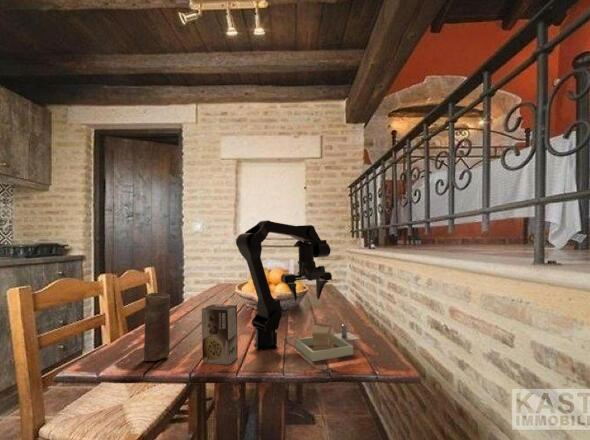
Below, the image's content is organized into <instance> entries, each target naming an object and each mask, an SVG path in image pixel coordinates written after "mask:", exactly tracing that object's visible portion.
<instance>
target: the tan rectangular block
mask: <svg viewBox="0 0 590 440" xmlns="http://www.w3.org/2000/svg"><path fill="white" fill-rule="evenodd" d="M311 330H312V337H313V345H312V350H313V351H318V350H325V349H331V348H335V344H334V334H335V333H334V331H335V330H334V324H333V323H323V322H318V323H316V324H315V325H312V328H311Z"/></svg>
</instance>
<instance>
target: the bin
mask: <svg viewBox="0 0 590 440" xmlns="http://www.w3.org/2000/svg"><path fill="white" fill-rule="evenodd" d="M310 346H312V347H313V336H309V337H301V338H295V351H296V352H297V353H298V354H300V355H301V356H302V357H303V358H304V359H305V360H307V361H308V362H309V364H311V365H312V366H314V365H315V362H317V361H318V362H319V361H322V360H323V361H324V360H330V359H335V358H336V359H337V358H342V357H347V356H353V355H354V345H352V344H351V343H349V342H347V341H344V340H342V339H340V338H338V337H337V336H335V335H334V346H336V347H334V348H331V349H325V350H318V351H313V348H310Z"/></svg>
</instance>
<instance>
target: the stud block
mask: <svg viewBox="0 0 590 440" xmlns="http://www.w3.org/2000/svg"><path fill="white" fill-rule="evenodd" d="M339 328H340V332H339V333H334V335H335V336H337V337H338V338H340V339H342V340H344V341H345V342H347V341H351V340H357V339H358V340H359V339H360V337H358V336H356V335H354V334H352V333H350V332H349V331H348V330H349V329H348V325H347V324H343V323H342V324H341V325H340V327H339ZM347 331H348V332H347Z"/></svg>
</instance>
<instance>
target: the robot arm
mask: <svg viewBox="0 0 590 440" xmlns="http://www.w3.org/2000/svg"><path fill="white" fill-rule="evenodd" d="M269 234H278V235H284V236H289V237H291V238H293V239H295V240H297V241H296V242H295V243H294V244H293V247H295V248H296V247H297V249H298V260H297V264H298V272H297V274H294V273H282V274H281V277H280V282H281V283H283V284H284V285H287V287H288V289H289V291H290V293H291V295H292V298H293V300H294V302H298V300H297V299H298V297H297V284H298V283H297V282H296V281H304V280H307V281H315V289H316V298H317V300H320V298H321V296H322V295H321V294H322V292H323V290H324V287H325V285H326V284H327V283H329V282H330V281H332V279H333V275H332V273H331V272H330V271H326V267H325V266H324V265H319V266H317V265H316V261H315V260H314V258H315V259H316V258H318V259H319V258H328V257H329V256H330V255H331V247H330V245H329V244H328V243H327V240H326V239H321V238H320V236H319V234H318V232H317V231H316V228H315V226H314V225H312V224H310V225H309V224H307V225H305V224H304V225H293V224H286V223H282V222H275V221H270V220H259V222H257V224H255V225H253V227H251V228H250V229H248V230H246V231H245V232H244V233H240V234H239V235H238V236H237V238H236V239H235V245H236V247H237V248H238V251H239V254H241V256H242V257H243V259H245V260H246V264H247V267H248V271H249V275H250V277H251V280H252V284H253V287H254V291H255V294H256V296H257V304H256V310H257V313H256V314H255V315H254V317H253V318H252V319H251V325H252V327H253V328H254V331H255V332H254V335H255V338H254V339H255V342H254V343H253V346H255V348H256V349H257V350H258V351H265V350H271V349H277V348H278V332H277V330H278V329H279V326H280V322H281V319H282V317H283V312H282V311H283V310H284V309H283V308H282V305H281V301H280V299H278V298H274V297H273V294H272V292H271V289H270V285H269V282H268V279H267V278H268V277H267V275H266V271H265V268H264V265H263V261H262V257H261V256H262V251H263V247H262V243H263V242H264V241H265V240H266V239H267V237H268V235H269Z"/></svg>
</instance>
